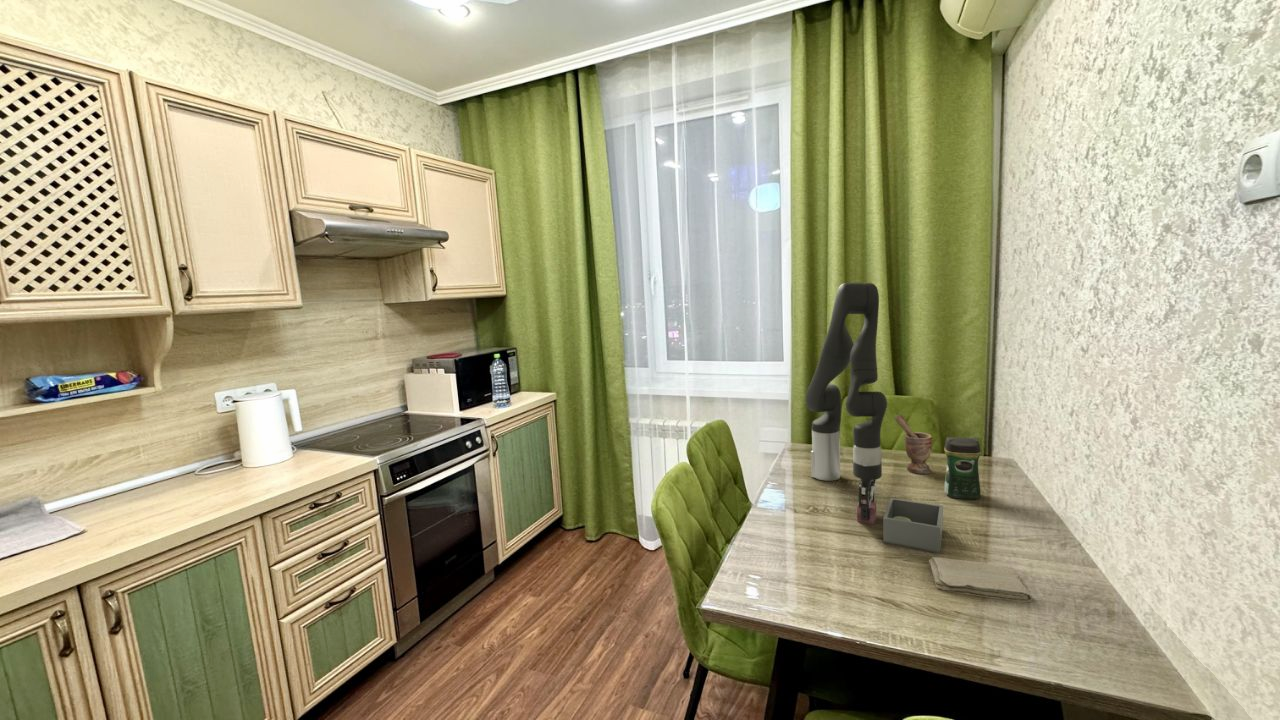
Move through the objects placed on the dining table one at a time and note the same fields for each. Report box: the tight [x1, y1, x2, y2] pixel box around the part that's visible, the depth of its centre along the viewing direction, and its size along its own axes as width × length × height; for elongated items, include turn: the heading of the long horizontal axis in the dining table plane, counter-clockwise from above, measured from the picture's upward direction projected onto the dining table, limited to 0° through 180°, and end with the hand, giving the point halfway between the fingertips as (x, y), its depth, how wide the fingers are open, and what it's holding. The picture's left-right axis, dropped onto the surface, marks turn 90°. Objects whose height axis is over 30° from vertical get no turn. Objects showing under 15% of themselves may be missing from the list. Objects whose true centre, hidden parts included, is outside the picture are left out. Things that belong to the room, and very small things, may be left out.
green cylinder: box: [893, 516, 911, 521], centre depth 136 cm, size 4×4×5 cm
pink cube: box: [856, 500, 877, 525], centre depth 148 cm, size 4×4×5 cm
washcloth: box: [928, 556, 1033, 603], centre depth 116 cm, size 12×18×3 cm, turn 69°
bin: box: [882, 497, 944, 555], centre depth 137 cm, size 13×14×7 cm
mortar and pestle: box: [894, 414, 933, 475], centre depth 181 cm, size 12×9×20 cm
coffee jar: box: [943, 436, 982, 500], centre depth 158 cm, size 10×8×19 cm
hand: (868, 513), depth 148 cm, fingers open, 8 cm apart
